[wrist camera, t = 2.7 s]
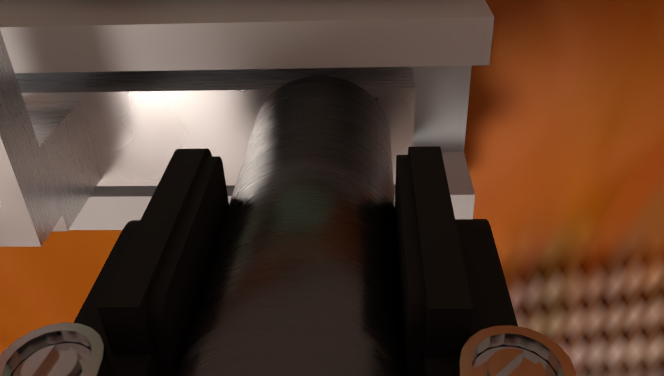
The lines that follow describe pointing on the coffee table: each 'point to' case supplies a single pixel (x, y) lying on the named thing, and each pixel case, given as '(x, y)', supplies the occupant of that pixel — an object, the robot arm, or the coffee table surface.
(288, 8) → the pitch board
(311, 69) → the kicker rod
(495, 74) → the coffee table surface
